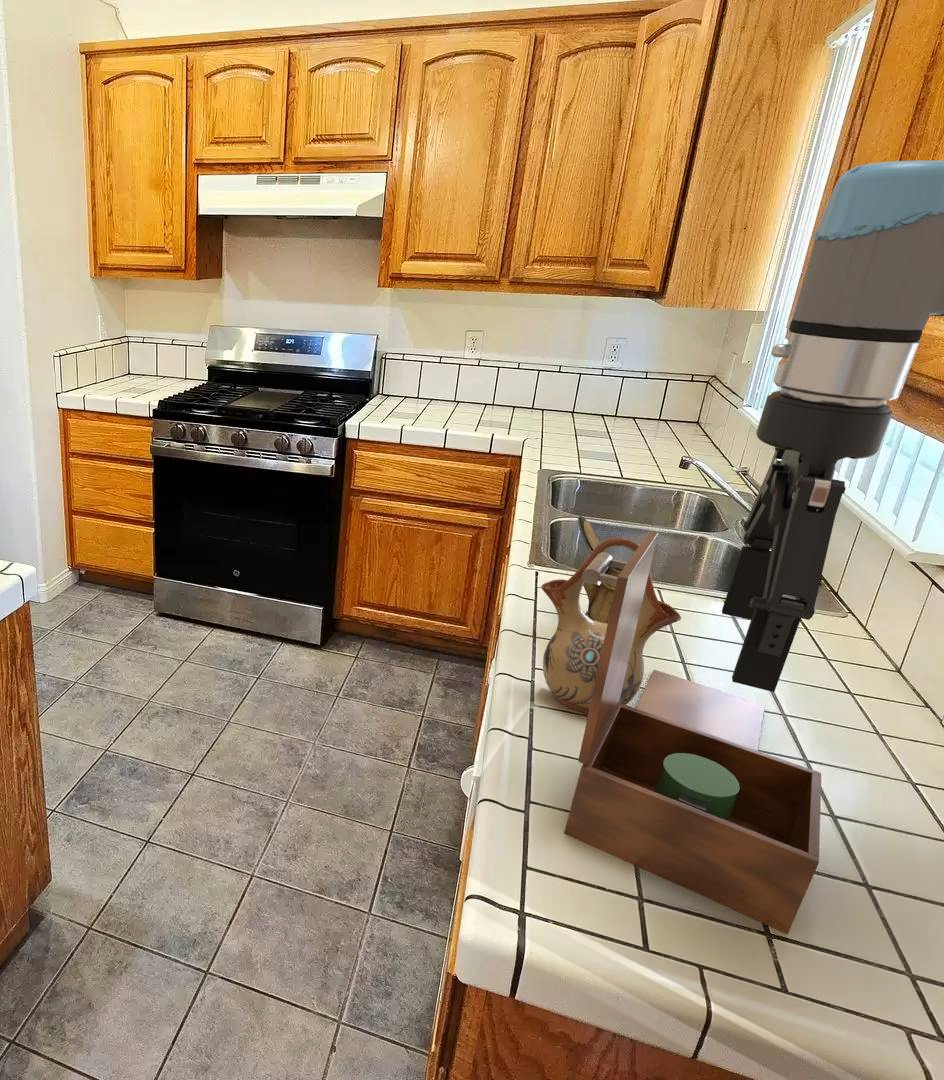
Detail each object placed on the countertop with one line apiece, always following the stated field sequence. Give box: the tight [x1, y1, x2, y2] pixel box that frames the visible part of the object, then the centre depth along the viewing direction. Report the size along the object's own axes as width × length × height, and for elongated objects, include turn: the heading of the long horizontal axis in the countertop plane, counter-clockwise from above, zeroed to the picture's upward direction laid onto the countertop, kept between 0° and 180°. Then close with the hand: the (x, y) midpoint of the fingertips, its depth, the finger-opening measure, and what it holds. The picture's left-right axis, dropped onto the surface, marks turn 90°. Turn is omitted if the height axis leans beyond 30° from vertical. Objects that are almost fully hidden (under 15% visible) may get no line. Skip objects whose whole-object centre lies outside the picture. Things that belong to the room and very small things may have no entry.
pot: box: [654, 753, 740, 821], centre depth 78 cm, size 7×10×8 cm
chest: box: [563, 702, 822, 935], centre depth 78 cm, size 20×16×9 cm
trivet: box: [635, 669, 766, 751], centre depth 103 cm, size 14×14×1 cm
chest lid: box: [578, 531, 659, 765], centre depth 79 cm, size 20×16×5 cm
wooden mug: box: [577, 515, 623, 624], centre depth 123 cm, size 9×14×18 cm, turn 55°
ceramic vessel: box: [540, 537, 682, 714], centre depth 98 cm, size 16×9×25 cm, turn 61°
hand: (745, 647), depth 63 cm, fingers open, 13 cm apart
